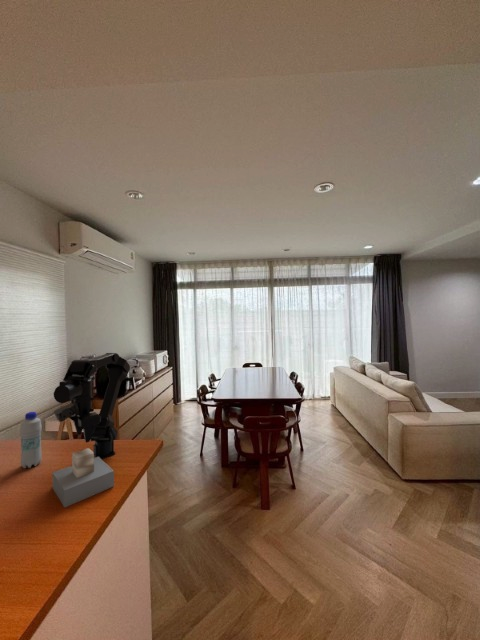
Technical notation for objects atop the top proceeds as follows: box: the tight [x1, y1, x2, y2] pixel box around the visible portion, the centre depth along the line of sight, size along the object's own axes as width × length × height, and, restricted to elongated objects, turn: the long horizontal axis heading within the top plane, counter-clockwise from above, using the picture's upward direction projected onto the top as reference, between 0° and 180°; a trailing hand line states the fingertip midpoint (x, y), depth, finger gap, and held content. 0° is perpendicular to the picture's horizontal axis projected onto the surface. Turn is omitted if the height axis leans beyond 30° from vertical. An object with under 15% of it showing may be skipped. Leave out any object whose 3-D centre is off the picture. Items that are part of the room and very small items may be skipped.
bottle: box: [19, 411, 43, 469], centre depth 103 cm, size 7×7×20 cm
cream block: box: [71, 447, 95, 478], centre depth 89 cm, size 5×5×6 cm
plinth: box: [52, 457, 115, 508], centre depth 89 cm, size 14×14×5 cm
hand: (83, 438), depth 98 cm, fingers open, 9 cm apart
